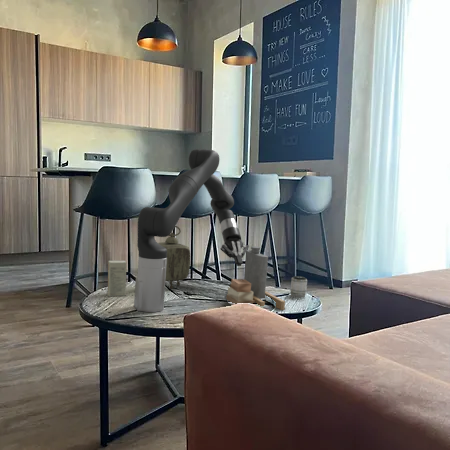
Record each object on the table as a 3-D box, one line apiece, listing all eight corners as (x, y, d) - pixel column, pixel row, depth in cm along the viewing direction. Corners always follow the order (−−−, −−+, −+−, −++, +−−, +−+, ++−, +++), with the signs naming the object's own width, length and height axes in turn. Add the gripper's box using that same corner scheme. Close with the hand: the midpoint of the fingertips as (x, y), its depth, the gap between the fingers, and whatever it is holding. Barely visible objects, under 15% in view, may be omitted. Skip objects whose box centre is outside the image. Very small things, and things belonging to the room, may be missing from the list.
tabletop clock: (180, 284, 186) (184, 224, 184) (190, 289, 179) (194, 227, 176) (147, 286, 179) (151, 224, 176) (156, 292, 171) (160, 226, 169)
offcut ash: (237, 301, 157) (238, 292, 156) (227, 295, 164) (228, 287, 163) (252, 300, 159) (253, 291, 159) (241, 294, 166) (242, 286, 166)
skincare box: (124, 293, 166) (126, 260, 165) (125, 296, 162) (127, 262, 161) (106, 293, 164) (108, 259, 163) (107, 296, 160) (108, 262, 159)
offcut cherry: (237, 291, 157) (237, 283, 157) (231, 287, 164) (231, 279, 164) (250, 291, 159) (251, 283, 158) (243, 287, 165) (244, 279, 165)
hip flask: (265, 303, 166) (270, 250, 164) (255, 303, 165) (260, 249, 163) (249, 292, 181) (253, 243, 179) (239, 293, 179) (243, 243, 178)
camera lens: (288, 293, 184) (290, 274, 184) (303, 294, 185) (305, 275, 184) (292, 297, 178) (293, 278, 178) (307, 298, 179) (309, 279, 178)
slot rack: (260, 310, 156) (261, 302, 155) (229, 291, 181) (230, 283, 181) (284, 309, 159) (285, 301, 159) (250, 290, 185) (251, 283, 185)
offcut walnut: (235, 309, 156) (236, 301, 156) (225, 302, 165) (226, 294, 164) (253, 309, 159) (254, 300, 159) (243, 302, 167) (243, 294, 167)
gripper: (218, 225, 189) (227, 259, 179) (247, 226, 194) (257, 259, 184) (213, 236, 194) (221, 270, 184) (241, 237, 199) (251, 269, 189)
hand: (239, 264), depth 184 cm, fingers closed
